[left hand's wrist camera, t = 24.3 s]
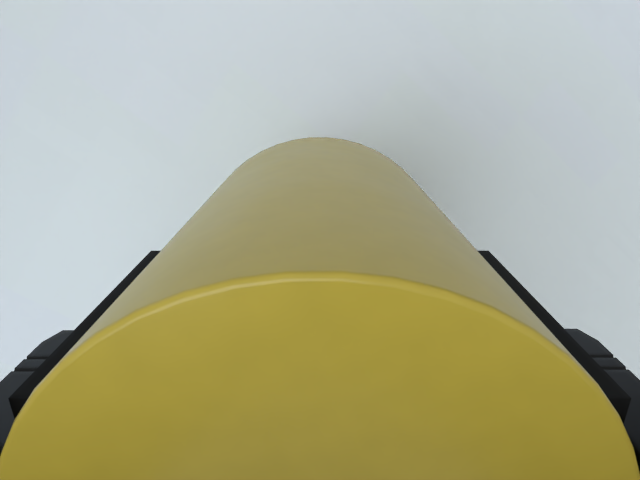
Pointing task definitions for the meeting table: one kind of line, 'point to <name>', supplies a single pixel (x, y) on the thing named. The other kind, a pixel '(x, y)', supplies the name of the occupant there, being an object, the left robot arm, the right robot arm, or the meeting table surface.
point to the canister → (318, 349)
